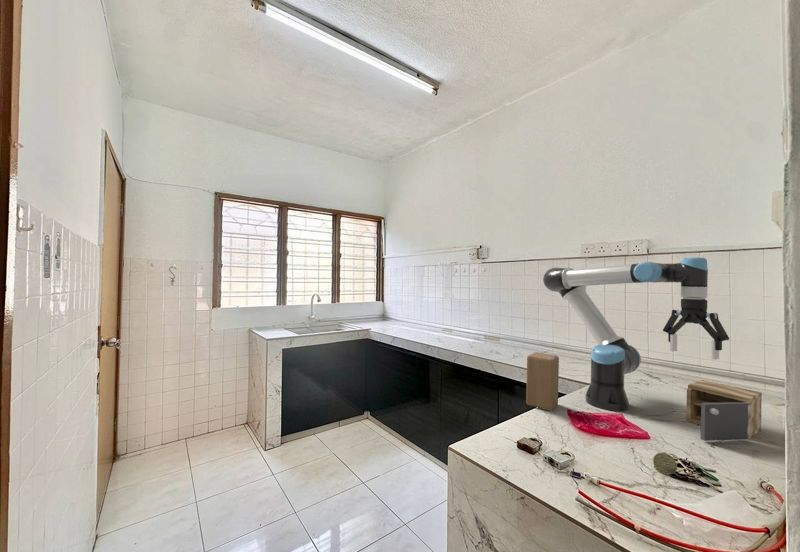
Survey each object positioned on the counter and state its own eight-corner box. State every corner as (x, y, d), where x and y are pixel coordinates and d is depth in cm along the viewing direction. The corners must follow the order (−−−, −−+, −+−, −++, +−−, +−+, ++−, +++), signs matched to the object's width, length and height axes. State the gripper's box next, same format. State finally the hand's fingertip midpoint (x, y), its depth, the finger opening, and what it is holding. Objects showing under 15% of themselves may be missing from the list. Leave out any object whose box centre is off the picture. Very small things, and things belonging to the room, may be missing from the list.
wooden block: (533, 398, 141) (534, 351, 141) (558, 404, 135) (559, 355, 135) (525, 405, 133) (526, 355, 133) (551, 411, 127) (552, 359, 127)
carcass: (747, 439, 108) (748, 399, 108) (686, 420, 122) (686, 385, 122) (760, 430, 115) (761, 392, 115) (701, 413, 129) (702, 379, 129)
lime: (679, 479, 85) (679, 459, 85) (656, 474, 87) (657, 455, 87) (672, 469, 90) (672, 451, 90) (651, 465, 91) (651, 447, 91)
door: (756, 441, 105) (756, 405, 105) (709, 443, 103) (710, 406, 103) (745, 437, 108) (746, 402, 108) (700, 438, 106) (701, 402, 106)
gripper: (742, 300, 114) (742, 362, 114) (665, 296, 138) (665, 347, 138) (728, 300, 112) (728, 363, 112) (652, 296, 136) (652, 348, 136)
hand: (693, 355), depth 125 cm, fingers open, 13 cm apart
